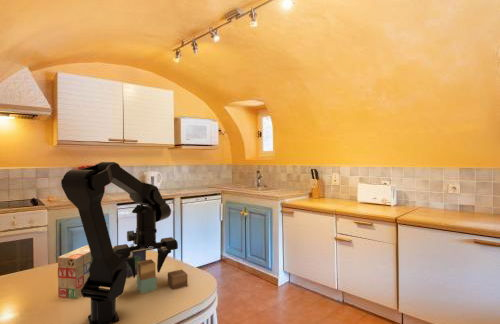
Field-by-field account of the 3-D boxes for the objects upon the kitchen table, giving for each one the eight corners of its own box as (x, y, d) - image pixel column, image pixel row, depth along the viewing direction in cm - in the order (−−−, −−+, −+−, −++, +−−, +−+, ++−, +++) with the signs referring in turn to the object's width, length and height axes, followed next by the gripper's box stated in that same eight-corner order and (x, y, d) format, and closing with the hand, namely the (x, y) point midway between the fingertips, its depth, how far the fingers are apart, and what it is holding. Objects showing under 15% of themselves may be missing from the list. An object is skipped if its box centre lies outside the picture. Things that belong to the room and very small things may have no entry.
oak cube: (155, 277, 93) (155, 263, 93) (141, 280, 90) (141, 266, 90) (151, 272, 96) (151, 259, 96) (137, 275, 94) (137, 261, 94)
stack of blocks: (105, 270, 109) (105, 237, 108) (120, 271, 107) (120, 238, 107) (57, 297, 88) (57, 256, 87) (76, 299, 86) (75, 257, 86)
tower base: (156, 289, 93) (156, 277, 93) (140, 293, 90) (140, 280, 90) (152, 284, 97) (152, 272, 97) (136, 288, 94) (136, 275, 94)
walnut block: (187, 286, 95) (187, 274, 95) (172, 290, 93) (172, 277, 93) (181, 281, 99) (181, 269, 99) (167, 284, 97) (167, 272, 96)
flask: (120, 279, 100) (120, 248, 100) (117, 277, 102) (117, 246, 102) (147, 272, 106) (147, 242, 106) (143, 270, 109) (143, 241, 108)
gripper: (167, 217, 105) (167, 261, 105) (109, 224, 94) (109, 272, 95) (178, 223, 96) (178, 271, 96) (115, 231, 85) (116, 285, 85)
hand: (146, 274), depth 93 cm, fingers open, 7 cm apart
